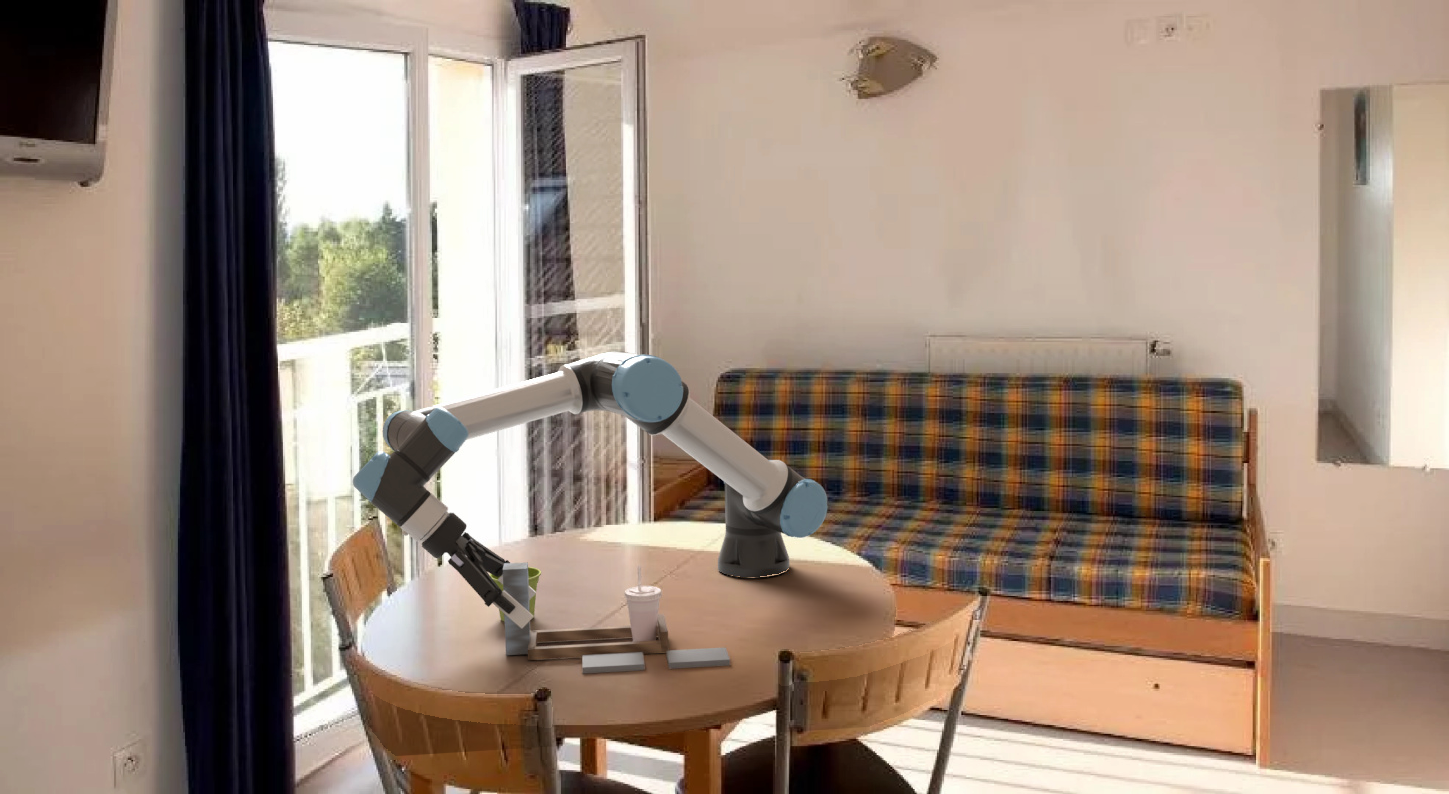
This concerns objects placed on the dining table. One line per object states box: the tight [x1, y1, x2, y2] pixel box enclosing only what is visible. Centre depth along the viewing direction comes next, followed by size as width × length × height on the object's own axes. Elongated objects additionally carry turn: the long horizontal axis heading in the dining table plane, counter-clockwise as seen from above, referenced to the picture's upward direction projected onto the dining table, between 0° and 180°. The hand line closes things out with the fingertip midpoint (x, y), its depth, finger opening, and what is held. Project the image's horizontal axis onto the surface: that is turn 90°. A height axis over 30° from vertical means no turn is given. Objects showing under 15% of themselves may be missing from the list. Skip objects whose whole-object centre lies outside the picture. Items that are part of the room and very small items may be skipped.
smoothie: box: [624, 565, 663, 642], centre depth 210 cm, size 6×6×14 cm
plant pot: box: [489, 566, 542, 623], centre depth 226 cm, size 9×9×9 cm
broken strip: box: [581, 647, 731, 674], centre depth 202 cm, size 24×6×1 cm, turn 97°
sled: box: [503, 561, 669, 661], centre depth 209 cm, size 27×10×15 cm, turn 97°
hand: (529, 610), depth 208 cm, fingers open, 13 cm apart
